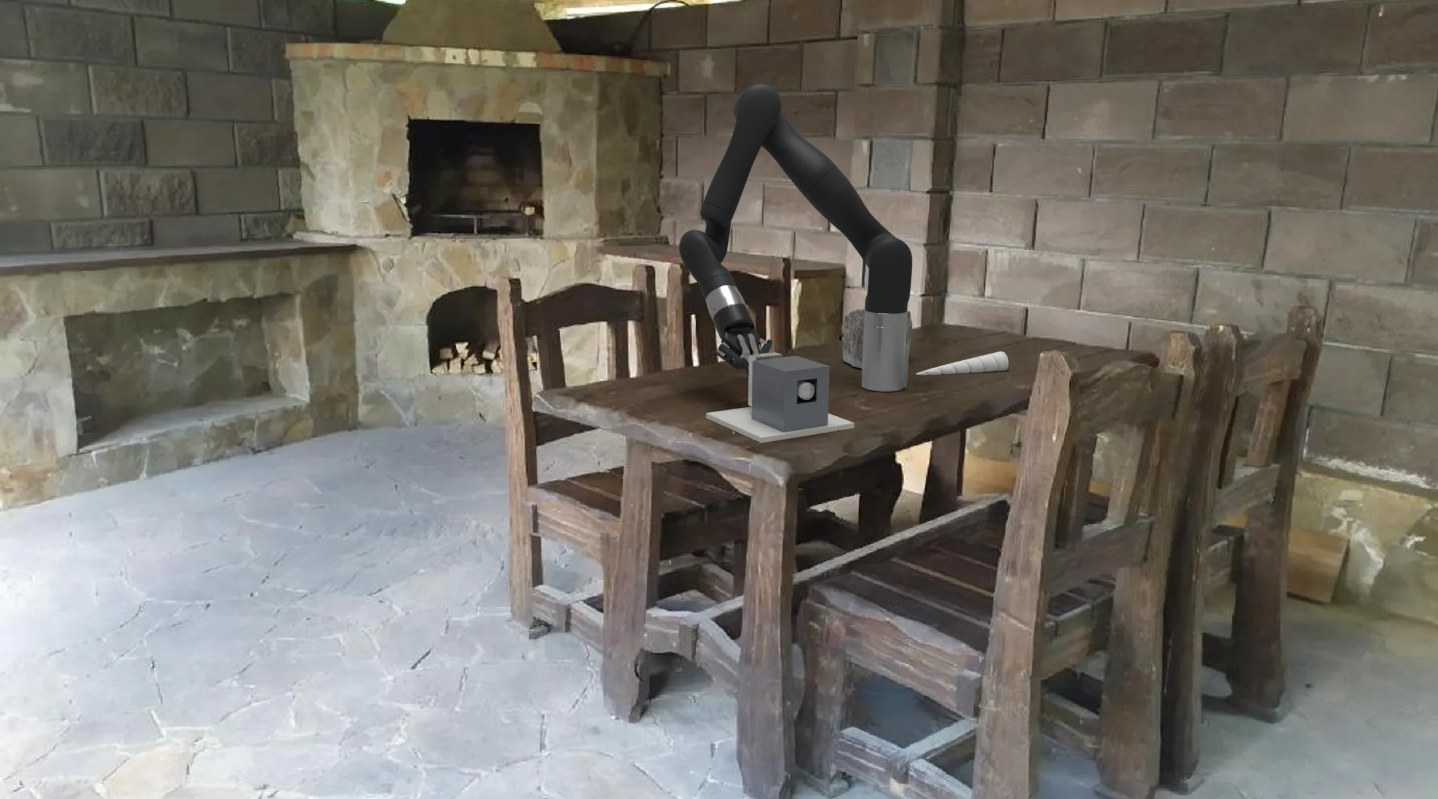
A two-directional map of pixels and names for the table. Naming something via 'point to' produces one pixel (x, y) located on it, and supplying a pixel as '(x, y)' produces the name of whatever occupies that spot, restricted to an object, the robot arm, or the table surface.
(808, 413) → the block
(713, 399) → the table surface
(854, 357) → the petrified wood
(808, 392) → the shaft
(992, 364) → the unicorn horn
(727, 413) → the base plate
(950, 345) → the table surface
